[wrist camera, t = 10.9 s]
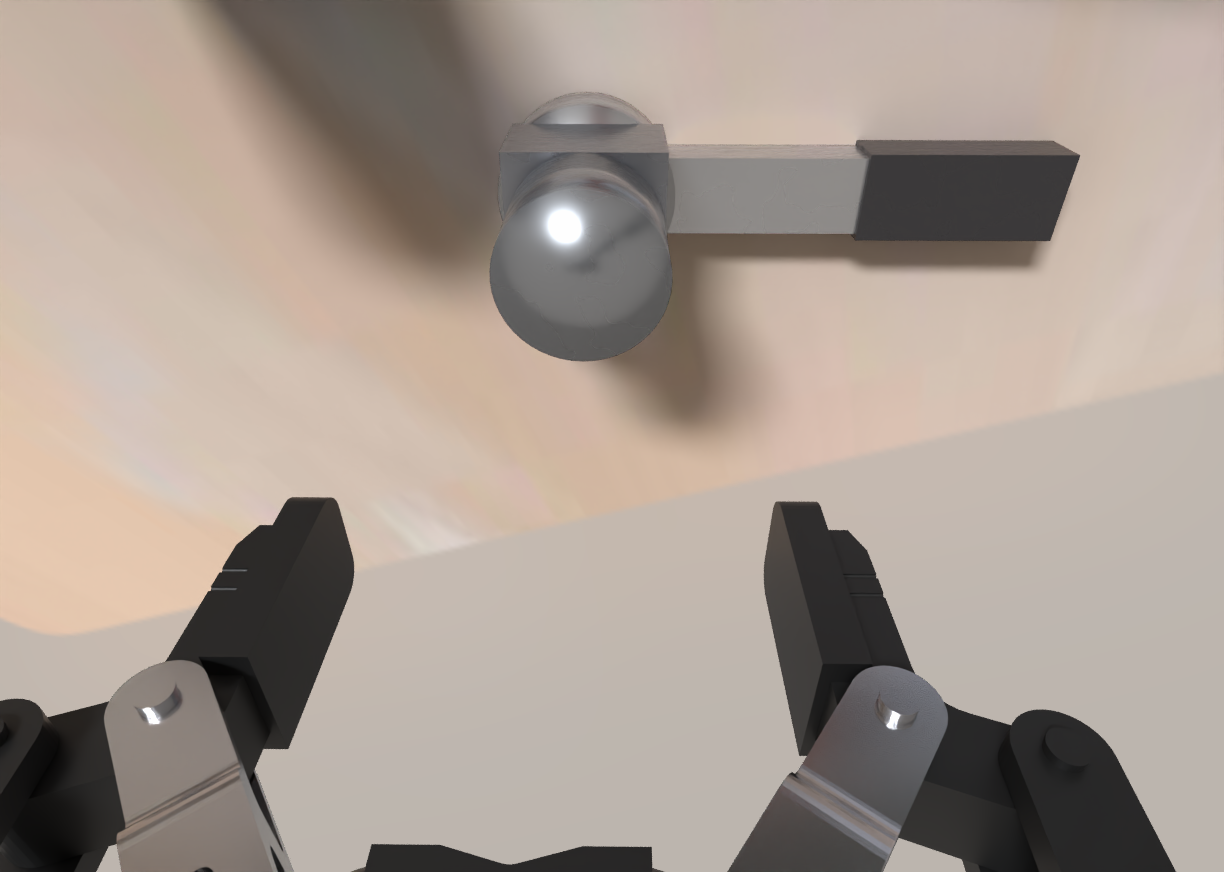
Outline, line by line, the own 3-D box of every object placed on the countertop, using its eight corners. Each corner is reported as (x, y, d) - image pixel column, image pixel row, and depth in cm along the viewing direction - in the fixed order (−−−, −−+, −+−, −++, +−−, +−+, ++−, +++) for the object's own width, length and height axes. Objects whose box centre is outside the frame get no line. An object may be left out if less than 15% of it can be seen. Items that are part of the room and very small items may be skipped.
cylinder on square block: (662, 124, 28) (677, 190, 21) (657, 266, 31) (668, 361, 24) (512, 123, 28) (480, 189, 21) (522, 266, 31) (497, 361, 24)
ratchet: (1068, 93, 29) (1158, 129, 24) (1012, 261, 33) (1081, 322, 28) (498, 91, 29) (475, 127, 25) (512, 260, 33) (494, 320, 29)
